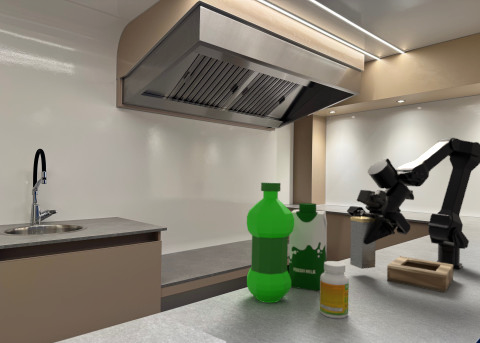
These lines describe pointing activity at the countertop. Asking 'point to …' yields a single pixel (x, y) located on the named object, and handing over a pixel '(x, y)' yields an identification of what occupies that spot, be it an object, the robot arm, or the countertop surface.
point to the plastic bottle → (269, 246)
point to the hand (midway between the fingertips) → (358, 241)
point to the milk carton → (307, 247)
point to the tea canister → (362, 242)
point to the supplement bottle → (334, 290)
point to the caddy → (420, 273)
